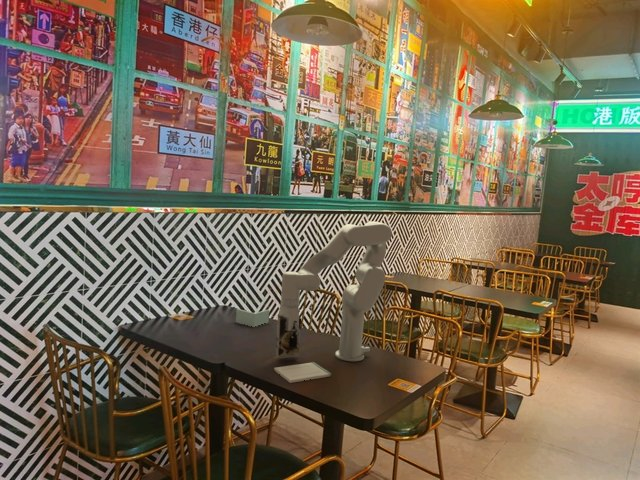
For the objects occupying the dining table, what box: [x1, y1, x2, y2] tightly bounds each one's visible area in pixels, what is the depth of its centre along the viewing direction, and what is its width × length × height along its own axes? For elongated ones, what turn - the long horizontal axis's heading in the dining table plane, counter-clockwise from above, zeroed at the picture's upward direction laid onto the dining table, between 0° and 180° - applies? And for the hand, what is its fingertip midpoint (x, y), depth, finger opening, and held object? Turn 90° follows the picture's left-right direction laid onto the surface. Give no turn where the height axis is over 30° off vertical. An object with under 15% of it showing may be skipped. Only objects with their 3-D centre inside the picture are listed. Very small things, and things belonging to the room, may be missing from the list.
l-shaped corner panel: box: [235, 308, 270, 328], centre depth 247 cm, size 12×12×8 cm
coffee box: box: [275, 315, 302, 358], centre depth 196 cm, size 9×6×16 cm
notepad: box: [273, 361, 332, 384], centre depth 183 cm, size 18×13×1 cm
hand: (288, 343), depth 197 cm, fingers closed on coffee box, 7 cm apart
